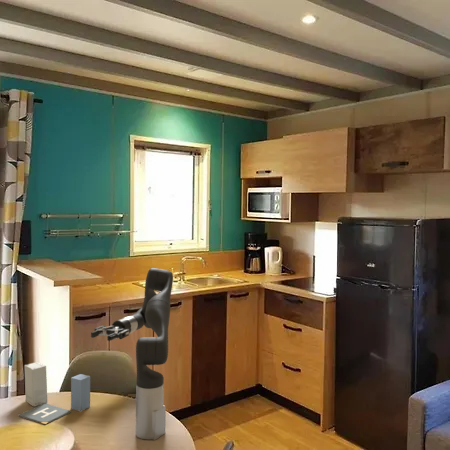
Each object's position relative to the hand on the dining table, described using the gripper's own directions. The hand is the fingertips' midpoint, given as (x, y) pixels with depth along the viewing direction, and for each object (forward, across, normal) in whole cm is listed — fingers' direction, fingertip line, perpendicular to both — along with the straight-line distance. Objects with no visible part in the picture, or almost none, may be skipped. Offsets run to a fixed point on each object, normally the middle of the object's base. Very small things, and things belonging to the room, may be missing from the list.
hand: (99, 336), depth 192 cm
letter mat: (+23, -7, +24) cm, 34 cm away
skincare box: (+16, -19, +25) cm, 35 cm away
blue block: (+12, 0, +24) cm, 27 cm away
